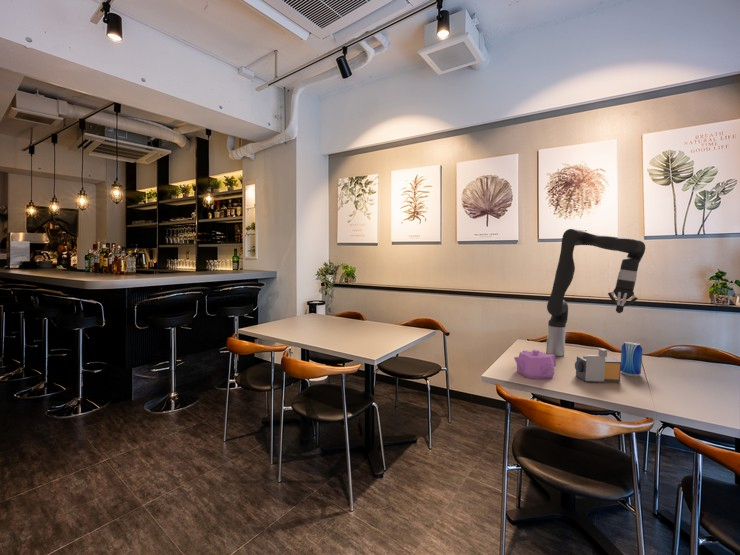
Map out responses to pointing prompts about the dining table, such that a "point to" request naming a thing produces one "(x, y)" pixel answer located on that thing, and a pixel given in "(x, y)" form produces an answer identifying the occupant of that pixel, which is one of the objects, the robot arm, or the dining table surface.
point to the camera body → (610, 369)
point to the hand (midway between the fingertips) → (618, 312)
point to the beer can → (631, 358)
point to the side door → (596, 366)
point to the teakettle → (535, 364)
